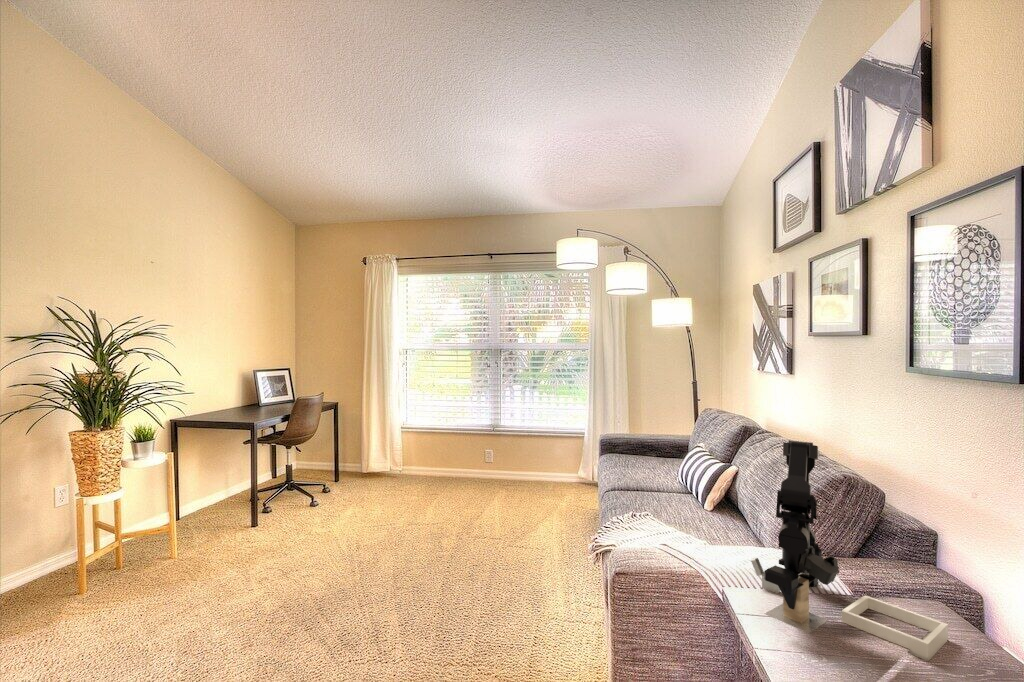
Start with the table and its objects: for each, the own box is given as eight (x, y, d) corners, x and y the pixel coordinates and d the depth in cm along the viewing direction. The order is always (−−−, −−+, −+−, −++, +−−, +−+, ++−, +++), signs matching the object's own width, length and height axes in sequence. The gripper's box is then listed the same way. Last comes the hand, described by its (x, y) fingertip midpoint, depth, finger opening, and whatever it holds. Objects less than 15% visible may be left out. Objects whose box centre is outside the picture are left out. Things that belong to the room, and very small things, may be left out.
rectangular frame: (841, 625, 114) (841, 610, 114) (865, 609, 122) (864, 595, 122) (928, 661, 101) (927, 644, 101) (948, 640, 109) (947, 624, 109)
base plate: (764, 617, 117) (764, 613, 117) (784, 606, 123) (784, 602, 123) (808, 637, 109) (808, 633, 109) (828, 624, 114) (828, 620, 114)
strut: (783, 615, 116) (783, 577, 116) (791, 610, 118) (791, 573, 119) (800, 623, 113) (800, 584, 113) (808, 618, 115) (808, 579, 116)
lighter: (780, 595, 128) (780, 565, 129) (777, 597, 127) (777, 566, 128) (753, 585, 134) (753, 556, 134) (750, 587, 133) (750, 557, 133)
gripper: (814, 560, 104) (814, 634, 104) (850, 543, 115) (850, 609, 114) (762, 543, 114) (763, 611, 113) (800, 529, 124) (800, 591, 124)
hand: (796, 606), depth 116 cm, fingers closed on strut, 4 cm apart
